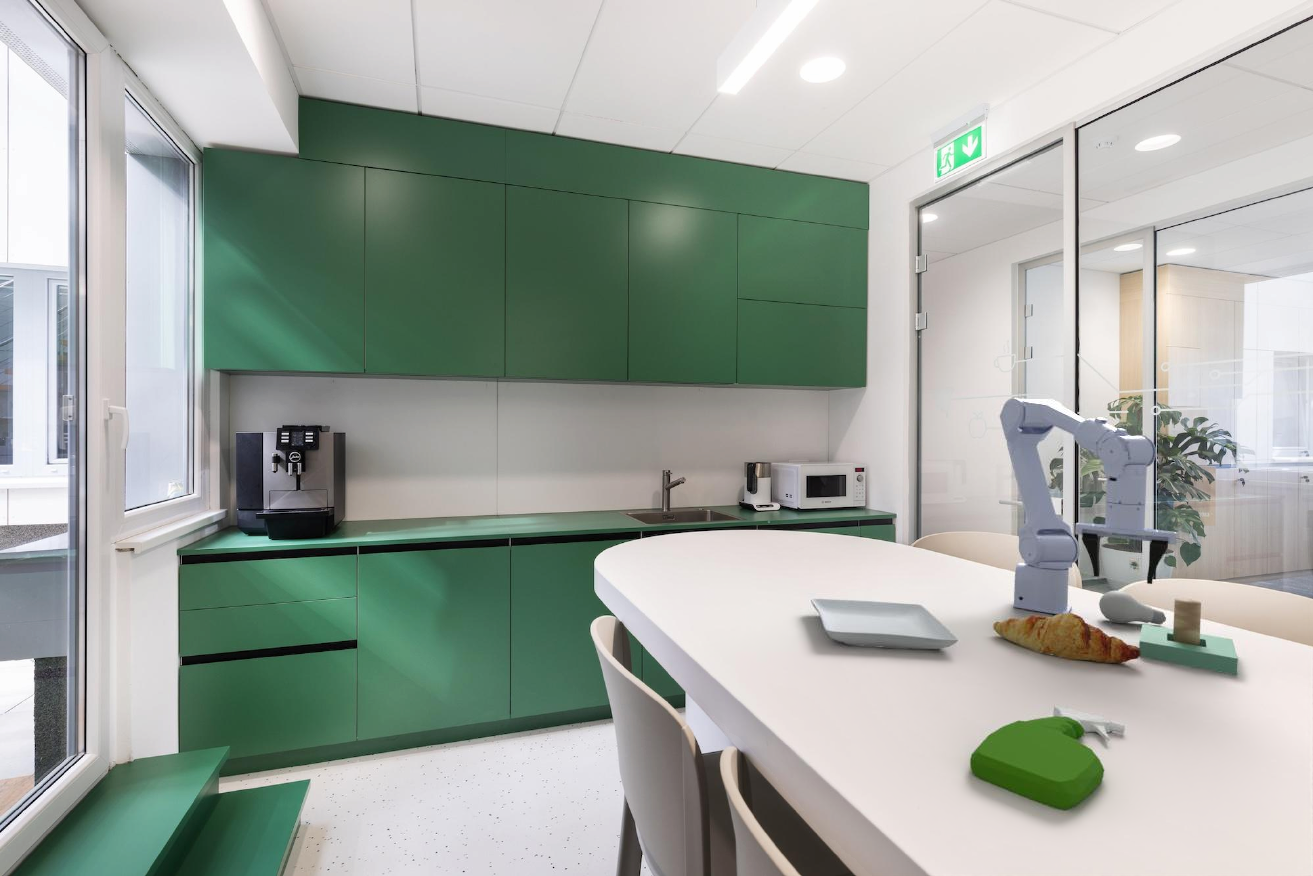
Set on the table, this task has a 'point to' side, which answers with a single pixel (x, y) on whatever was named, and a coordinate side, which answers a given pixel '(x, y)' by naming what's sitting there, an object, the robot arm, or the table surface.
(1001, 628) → the croissant
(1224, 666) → the socket block
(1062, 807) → the spray bottle
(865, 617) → the salad plate
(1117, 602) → the lightbulb
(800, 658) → the table surface
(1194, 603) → the dowel
